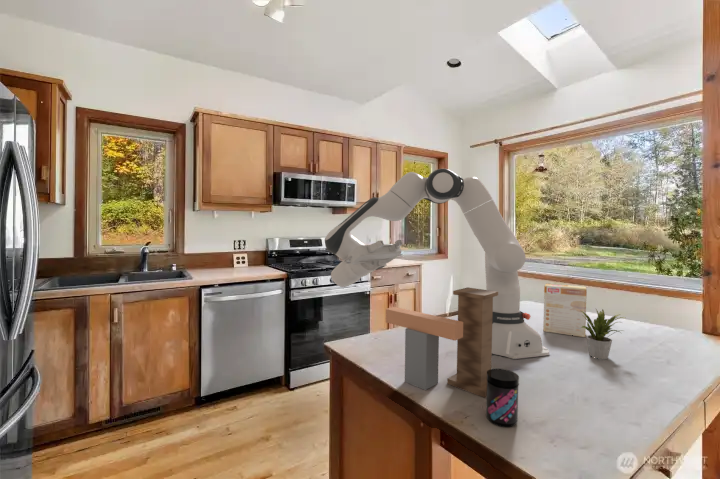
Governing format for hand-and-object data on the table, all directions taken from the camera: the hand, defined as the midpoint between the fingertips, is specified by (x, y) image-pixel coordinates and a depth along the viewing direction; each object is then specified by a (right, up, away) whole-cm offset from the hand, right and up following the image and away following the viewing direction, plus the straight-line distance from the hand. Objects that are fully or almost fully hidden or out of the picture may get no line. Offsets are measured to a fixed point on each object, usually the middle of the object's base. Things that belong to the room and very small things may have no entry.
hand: (391, 242), depth 112 cm
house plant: (+71, -39, +6) cm, 81 cm away
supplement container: (+22, -40, -32) cm, 56 cm away
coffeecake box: (+75, -38, +35) cm, 91 cm away
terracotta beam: (+7, -24, -14) cm, 29 cm away
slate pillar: (+7, -39, -13) cm, 42 cm away
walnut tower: (+21, -39, -15) cm, 47 cm away
